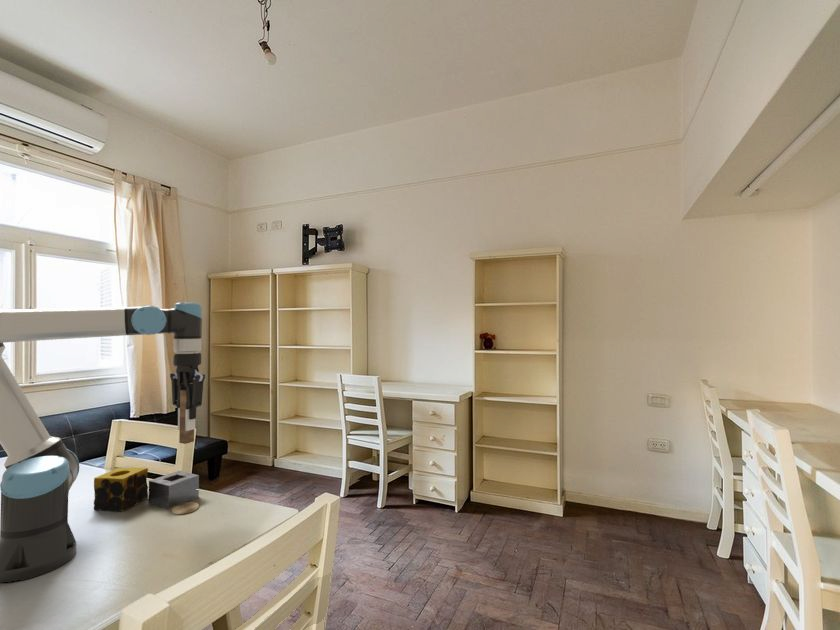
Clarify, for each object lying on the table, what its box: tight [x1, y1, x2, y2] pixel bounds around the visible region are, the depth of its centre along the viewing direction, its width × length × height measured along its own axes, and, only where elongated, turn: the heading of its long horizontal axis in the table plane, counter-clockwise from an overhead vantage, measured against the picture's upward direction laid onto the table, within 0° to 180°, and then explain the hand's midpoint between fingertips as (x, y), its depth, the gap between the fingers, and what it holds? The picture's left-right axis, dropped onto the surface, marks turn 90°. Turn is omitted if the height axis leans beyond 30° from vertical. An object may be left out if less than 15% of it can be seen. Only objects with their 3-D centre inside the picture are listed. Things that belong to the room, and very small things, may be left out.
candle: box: [93, 466, 149, 512], centre depth 128 cm, size 10×10×10 cm
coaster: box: [171, 502, 199, 516], centre depth 124 cm, size 7×7×1 cm
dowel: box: [178, 389, 195, 445], centre depth 125 cm, size 3×3×16 cm
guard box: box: [148, 470, 200, 510], centre depth 131 cm, size 10×10×7 cm
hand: (186, 429), depth 125 cm, fingers closed on dowel, 3 cm apart
